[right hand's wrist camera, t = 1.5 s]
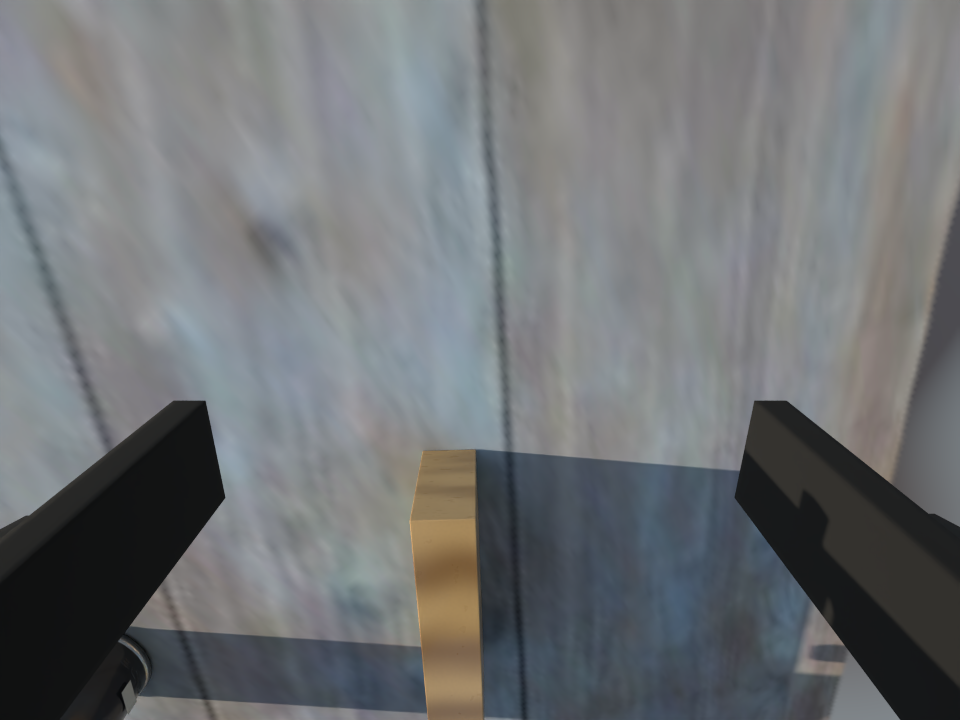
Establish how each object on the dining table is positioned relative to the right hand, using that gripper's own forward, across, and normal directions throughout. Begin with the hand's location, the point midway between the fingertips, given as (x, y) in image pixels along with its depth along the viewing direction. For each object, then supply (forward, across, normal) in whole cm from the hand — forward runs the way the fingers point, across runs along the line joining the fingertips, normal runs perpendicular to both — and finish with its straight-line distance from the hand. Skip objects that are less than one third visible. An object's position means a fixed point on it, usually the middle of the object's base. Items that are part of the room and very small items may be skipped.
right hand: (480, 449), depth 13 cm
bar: (+27, -2, -27) cm, 38 cm away
